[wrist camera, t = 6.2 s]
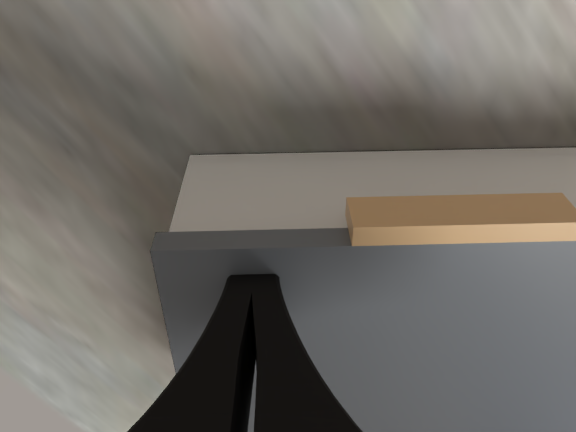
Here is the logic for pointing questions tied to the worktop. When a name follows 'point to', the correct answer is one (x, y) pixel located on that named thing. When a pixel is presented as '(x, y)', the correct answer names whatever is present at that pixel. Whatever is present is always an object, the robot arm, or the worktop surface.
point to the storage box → (352, 183)
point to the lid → (410, 306)
